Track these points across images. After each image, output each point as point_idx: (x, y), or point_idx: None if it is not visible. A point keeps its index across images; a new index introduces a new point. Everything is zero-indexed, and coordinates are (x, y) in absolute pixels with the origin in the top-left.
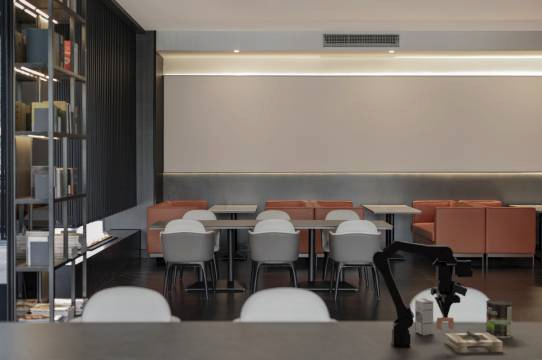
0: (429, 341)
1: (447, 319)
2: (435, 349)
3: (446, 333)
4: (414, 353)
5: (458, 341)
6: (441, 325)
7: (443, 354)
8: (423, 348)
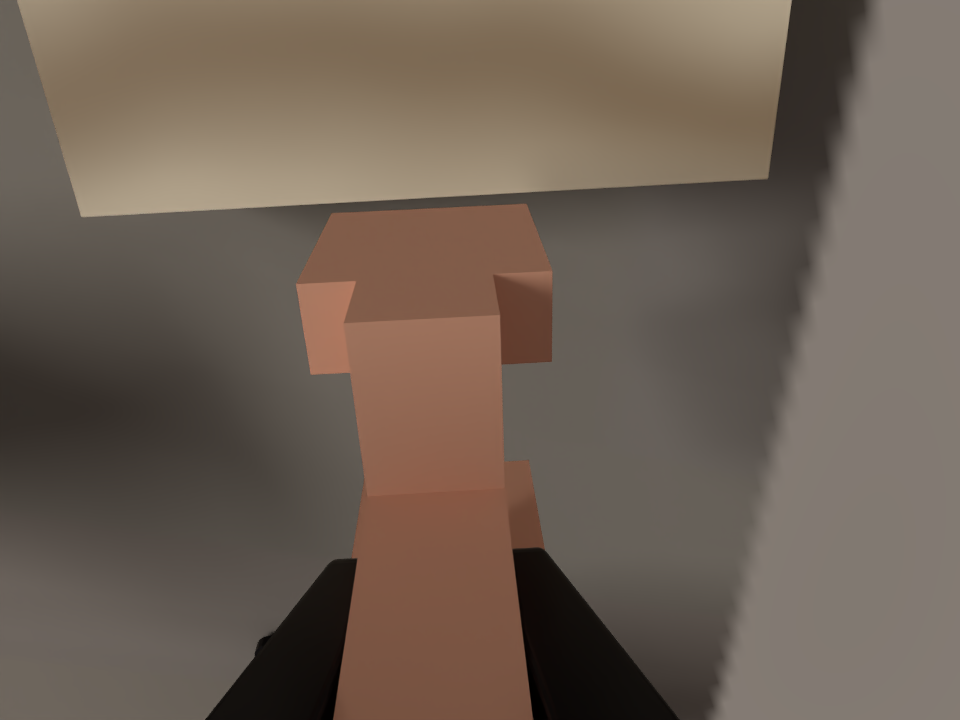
0: (113, 376)
1: (504, 480)
2: (520, 388)
3: (94, 190)
4: (664, 618)
5: (704, 124)
6: (539, 528)
7: (753, 346)
8: None
